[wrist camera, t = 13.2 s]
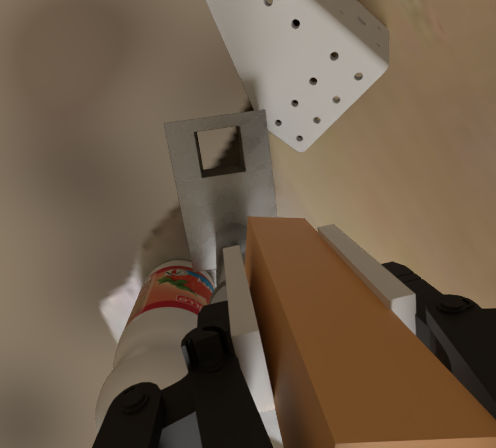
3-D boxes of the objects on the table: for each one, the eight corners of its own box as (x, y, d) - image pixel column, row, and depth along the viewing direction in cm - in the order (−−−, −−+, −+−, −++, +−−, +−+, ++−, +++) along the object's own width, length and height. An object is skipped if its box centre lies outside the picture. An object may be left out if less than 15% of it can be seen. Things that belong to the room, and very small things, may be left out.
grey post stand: (257, 110, 39) (303, 101, 19) (272, 240, 44) (322, 339, 24) (170, 122, 39) (126, 126, 19) (195, 252, 44) (181, 364, 24)
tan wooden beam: (304, 218, 18) (511, 436, 6) (298, 270, 19) (465, 559, 6) (248, 216, 18) (335, 443, 5) (244, 269, 18) (311, 573, 6)
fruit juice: (128, 280, 44) (-2, 528, 17) (191, 244, 43) (158, 444, 17) (168, 333, 47) (110, 617, 20) (228, 300, 46) (250, 548, 20)
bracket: (205, -93, 27) (389, 67, 32) (240, -105, 33) (389, 29, 38) (154, 47, 36) (301, 154, 41) (189, 16, 43) (313, 112, 48)
